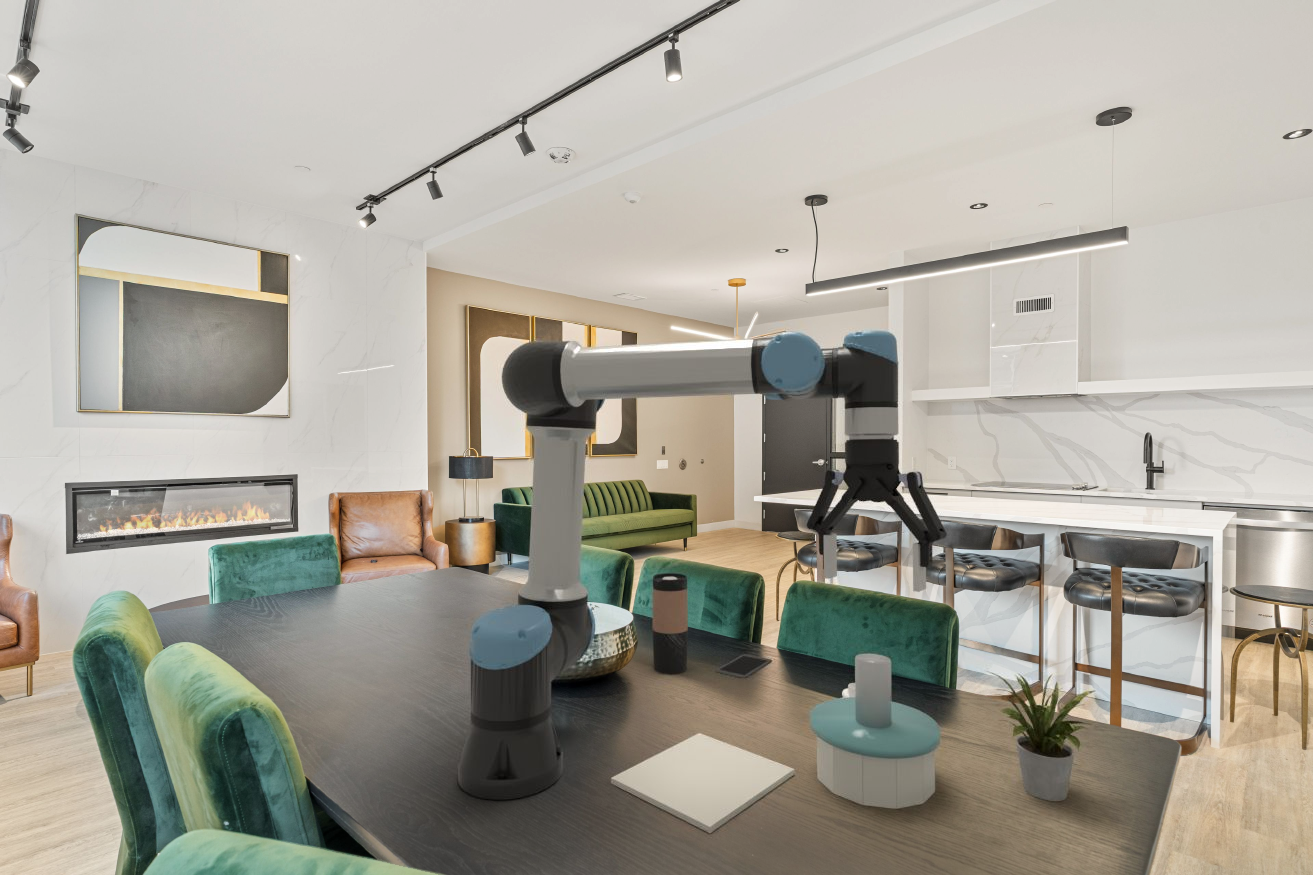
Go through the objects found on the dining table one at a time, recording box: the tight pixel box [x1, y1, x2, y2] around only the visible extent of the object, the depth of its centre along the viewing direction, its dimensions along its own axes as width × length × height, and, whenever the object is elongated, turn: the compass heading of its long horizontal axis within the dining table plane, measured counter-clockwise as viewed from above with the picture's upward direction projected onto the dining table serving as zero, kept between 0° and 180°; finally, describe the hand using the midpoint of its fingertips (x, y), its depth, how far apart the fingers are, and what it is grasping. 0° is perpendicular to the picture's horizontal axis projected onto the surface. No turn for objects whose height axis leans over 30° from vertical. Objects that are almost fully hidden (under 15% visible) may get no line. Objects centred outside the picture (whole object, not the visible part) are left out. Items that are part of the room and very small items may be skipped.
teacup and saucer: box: [841, 682, 855, 698], centre depth 123 cm, size 9×8×4 cm
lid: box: [809, 653, 941, 759], centre depth 96 cm, size 18×18×10 cm
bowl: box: [816, 735, 936, 810], centre depth 96 cm, size 16×16×7 cm
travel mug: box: [652, 572, 689, 675], centre depth 143 cm, size 8×8×20 cm
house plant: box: [984, 670, 1095, 802], centre depth 93 cm, size 14×14×16 cm
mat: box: [610, 732, 795, 834], centre depth 96 cm, size 20×18×1 cm
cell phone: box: [714, 653, 773, 679], centre depth 145 cm, size 7×14×1 cm, turn 145°
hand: (873, 583), depth 97 cm, fingers open, 13 cm apart
